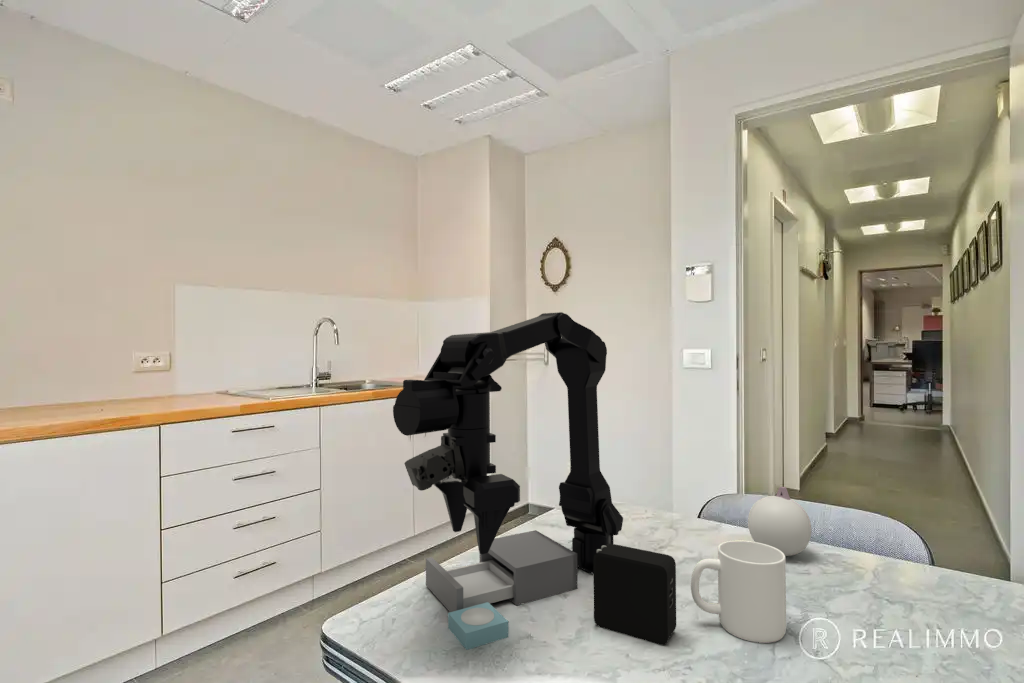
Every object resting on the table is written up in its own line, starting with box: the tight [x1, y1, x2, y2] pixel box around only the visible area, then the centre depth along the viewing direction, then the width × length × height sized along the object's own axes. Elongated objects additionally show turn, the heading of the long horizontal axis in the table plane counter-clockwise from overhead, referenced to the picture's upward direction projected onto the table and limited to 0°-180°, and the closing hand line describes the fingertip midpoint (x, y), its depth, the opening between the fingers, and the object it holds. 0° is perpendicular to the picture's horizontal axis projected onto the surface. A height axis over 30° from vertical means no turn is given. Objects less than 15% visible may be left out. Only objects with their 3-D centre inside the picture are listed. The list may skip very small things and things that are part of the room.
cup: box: [690, 539, 787, 644], centre depth 72 cm, size 8×12×10 cm
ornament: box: [747, 486, 812, 557], centre depth 97 cm, size 10×10×12 cm
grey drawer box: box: [479, 530, 579, 606], centre depth 86 cm, size 11×12×5 cm
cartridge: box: [447, 602, 509, 651], centre depth 71 cm, size 6×6×3 cm
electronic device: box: [593, 543, 677, 646], centre depth 71 cm, size 4×10×10 cm, turn 58°
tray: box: [425, 556, 514, 613], centre depth 81 cm, size 11×12×4 cm
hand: (469, 541), depth 72 cm, fingers open, 9 cm apart
